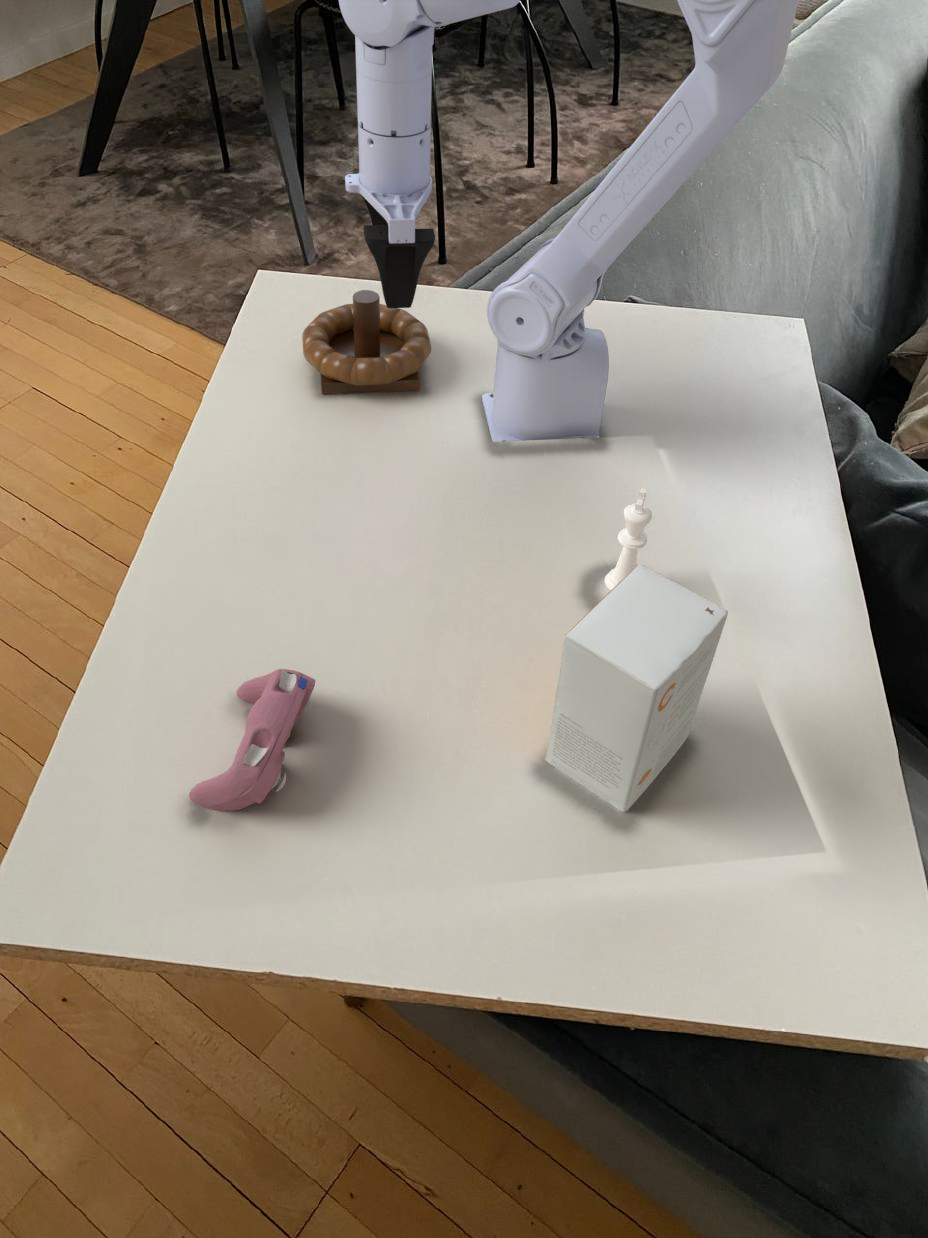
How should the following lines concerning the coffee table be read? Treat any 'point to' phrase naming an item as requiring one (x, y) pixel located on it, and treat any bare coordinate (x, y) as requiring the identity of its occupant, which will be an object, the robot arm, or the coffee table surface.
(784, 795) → the coffee table surface
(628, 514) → the chess piece
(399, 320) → the segmented brown ring
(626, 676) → the small box
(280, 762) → the video game controller
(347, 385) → the peg stand
